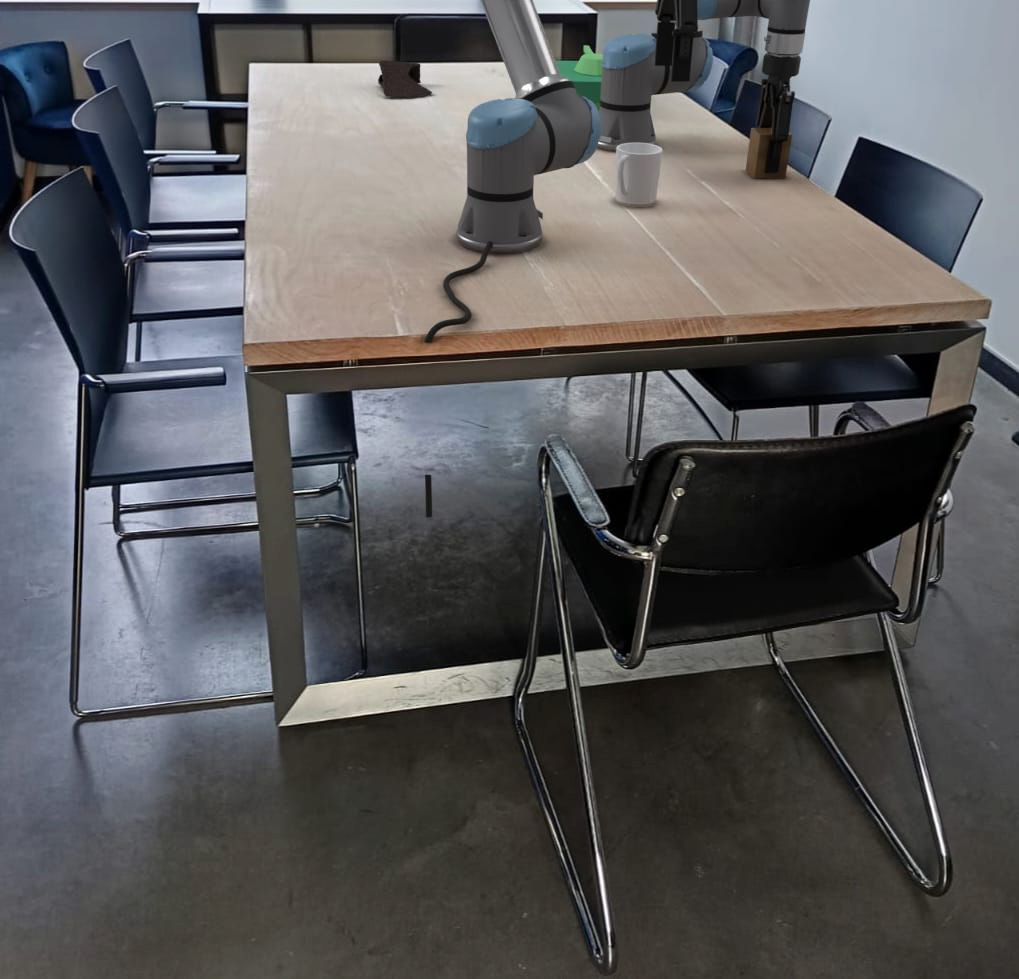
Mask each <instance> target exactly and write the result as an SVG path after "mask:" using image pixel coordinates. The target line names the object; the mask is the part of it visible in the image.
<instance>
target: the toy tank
mask: <svg viewBox="0 0 1019 979" xmlns="http://www.w3.org/2000/svg"><path fill="white" fill-rule="evenodd" d="M602 59H603V53H594V52H593V50H592V49H591V47H590V45H586V44H585V45H583V55H581V57H580V58H579V60H555V61H556V64H557V66H558V69H559V72H560V74H561V75H562V76H564V77H566V78H569V79H571V80H572V82H573V84H574V87H575V89H576V92H577V95H578V96H584V97H586V98H587V99H588V100H591V101H592V102H593V103H594V104H595V106H596V108H597V110H598V112H599V109H600V96H601V79H602Z"/></svg>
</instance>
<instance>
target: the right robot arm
mask: <svg viewBox="0 0 1019 979" xmlns="http://www.w3.org/2000/svg"><path fill="white" fill-rule="evenodd" d="M810 3H811V0H697V11H698V21H707V20H712V19H713V20H714V19H724V18H725V19H726V18H727V19H728V18H729V19H730V18H743V17H758V18H763V19H768V23H767V28H766V30H767V31H766V36H764V38H763V41H764V42H765V43H764V44H765V46H764V51H765V52H766V53H765V54H764V55H763V59H762V64H761V72H762V73H763V74H764V75H766V76H767V78H761V84H760V85H761V86H760V96H759V101H758V107H757V114H756V119H755V128H772V138H771V139H768V142H769V146H768V153H767V160H766V167H765V172H766V173H778V170H779V164H780V157H781V150H782V144H783V142H784V141H787V140H788V136H789V133H790V129H791V128H790V127H791V119H792V112H793V105H794V104H793V103H794V99H795V97H796V92H795V90H794V91H792V90H791V78H792V77H797V76H798V75H799V73H800V67H801V61H802V56H800V55H801V54H802V53H803V50H804V44H805V37H806V28H807V22H808V15H809V10H810ZM658 22H660V21H658V20H657V23H658ZM670 22H675V29H676V21H670ZM703 30H704V29H703V27H701V25H699V24H698V31H697V33H694V36H693V46H692V58H691V70H690V81H685V82H672V81H671V74H672V66H655V53H656V38H657V25H655V27H654V28H652V30H651V34H646V33H636V34H624V35H619V36H616V37H613V38H611V39H609V40H608V41H607V42H606V43H605V45H604V47H603V53H602V54H603V59H602V79H601V96H600V109H599V115H600V119H601V137H600V140H599V141H598V147H597V149H600V150H604V151H610V152H616V148H617V146H618V145H620V144H624V143H648V144H653V145H656V140H657V139H656V137H657V136H656V132H655V127H654V122H653V118H652V114H651V108H652V107H651V106H652V105H651V104H652V96H659V95H666V94H667V95H668V94H676V93H678V94H684V93H687V92H690V91H695V90H697V89H699V88H701V87H702V86H703V85H704V84H705V82H706V81H707V80H708V78H709V77H710V75H711V72H712V69H713V68H712V67H713V63H714V62H713V61H714V53H713V49H712V47H710V46H711V44H710V42H709V40H708V39H707V38H705V37H703ZM673 48H674V45H673ZM672 61H673V58H672Z"/></svg>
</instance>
